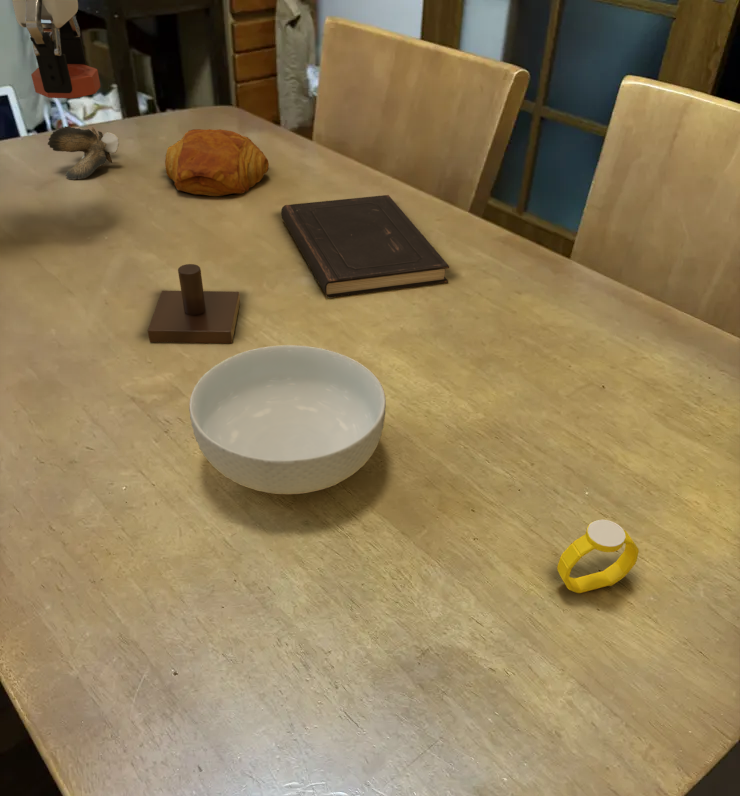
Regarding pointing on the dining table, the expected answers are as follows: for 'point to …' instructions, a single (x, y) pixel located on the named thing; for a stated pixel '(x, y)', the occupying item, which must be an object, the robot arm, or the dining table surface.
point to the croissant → (215, 163)
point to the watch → (603, 539)
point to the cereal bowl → (288, 418)
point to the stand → (194, 312)
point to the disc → (72, 82)
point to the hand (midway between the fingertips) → (67, 81)
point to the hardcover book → (362, 246)
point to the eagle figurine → (84, 148)
